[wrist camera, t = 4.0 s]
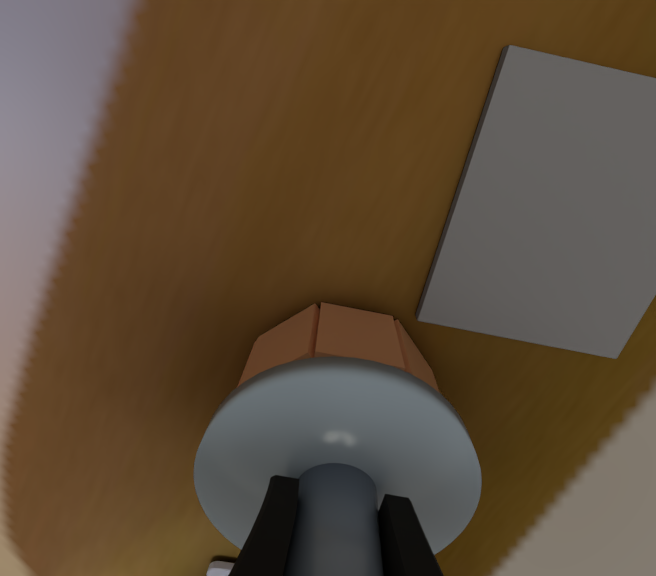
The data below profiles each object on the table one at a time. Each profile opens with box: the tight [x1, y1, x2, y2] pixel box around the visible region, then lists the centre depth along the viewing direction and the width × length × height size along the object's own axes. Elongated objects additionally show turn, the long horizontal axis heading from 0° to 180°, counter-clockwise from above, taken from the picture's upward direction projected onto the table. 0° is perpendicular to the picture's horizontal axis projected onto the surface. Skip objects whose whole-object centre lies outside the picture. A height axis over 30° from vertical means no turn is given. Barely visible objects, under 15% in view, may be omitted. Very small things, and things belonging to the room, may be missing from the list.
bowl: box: [237, 302, 440, 393], centre depth 13 cm, size 7×7×3 cm
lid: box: [194, 356, 482, 576], centre depth 9 cm, size 8×8×4 cm
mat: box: [416, 45, 656, 359], centre depth 12 cm, size 8×7×1 cm
